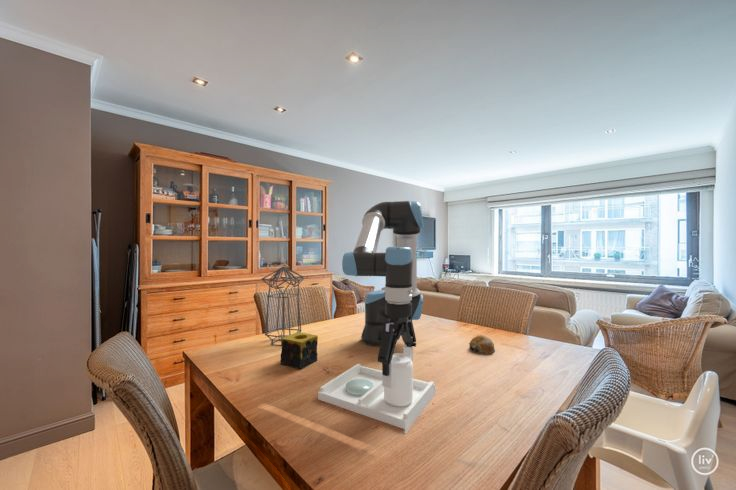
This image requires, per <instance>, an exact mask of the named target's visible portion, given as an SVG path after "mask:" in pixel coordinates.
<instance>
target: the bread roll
mask: <svg viewBox="0 0 736 490" xmlns="http://www.w3.org/2000/svg"><path fill="white" fill-rule="evenodd" d="M468 344H469V349H470V350H471V351H472V352H474V353H477V354H484V355H487V354H493V353H494V352H495V351H496V349H495V343H494V342H493V341H492V339H491V338H490V337H488V336H485V335H477V336H474V337H473V338H472V339H471V340H470V342H469V343H468Z"/></svg>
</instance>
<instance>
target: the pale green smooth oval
mask: <svg viewBox="0 0 736 490" xmlns="http://www.w3.org/2000/svg"><path fill="white" fill-rule="evenodd" d="M371 388H373V383H372V382H370V381H368V380H364V379H355V380H351V381H349V382H348V383H347V384H346V392H347V393H348V394H350V395H353V396H363V395H364V394H365V393H366V392H368V391H369V390H370V389H371Z"/></svg>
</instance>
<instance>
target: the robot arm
mask: <svg viewBox="0 0 736 490" xmlns="http://www.w3.org/2000/svg"><path fill="white" fill-rule="evenodd" d="M361 224H362V227H361V230H360V233H359V235H358V238H357V241H356V243H355V246H354V248H353V251H349V252H344V254H343V256H342V258H341V259H342V262H341V263H342V264H341V266H342V268H341V269H342V272H343V274H344V275H346V276H353V277H385V285H384V287H385V288H384V289H380V290H379V289H378V290H373V291H369V292H368V293H366V295H365V300H364V327H363V330H362V333H361V336H360V339H361V340H360V341H361V343H363V344H365V345H368V346H374V347H375V346H376V347H379V350H378V354H377V359H376V360H377V362H378V363H381V371H382V386H384V387H388V388H392V387H393V362H391V360H392V356H393V354H395V353H394V352H395V349H396V346H397V342H398V340H400V339H401V338H402V341H403V343H404V345H403V354H405V355H408V356H410V357H411V361H412V362H413V363H414V348H416V347H417V343H416V342H417V338H416V332H415V328H414V324H413V321H418V320H420V319H421V316H422V311H423V303H424V295H423V294H421V290H420V289H419V288H418V285H417V282H418V281H417V279H418V278H417V277H418V276H417V272H418V271H417V270H418V268H417V267H418V266H417V261H418V260H417V256H418V254H417V252H418V251H417V244H418V243H417V240H418V239H417V237H418V236H419V235H420V234H421V230H422V229H424V227H425V225H424V218H423V211H422V205H421V203H420V202H419V201H416V200H415V201H413V200H402V201H398V200H397V201H382V202H380V203H376V204H374V205H373V206H371V207H370V208H369V209H368V210H367V211H366V212H365V214H364V215H363V218H362V220H361ZM384 230H392V234H394V236H395V237H396V246H388V247H387V248H386V249H385V252H377V249H378V246H379V241H380V238H381V233H382V231H384Z"/></svg>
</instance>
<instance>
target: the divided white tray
mask: <svg viewBox="0 0 736 490" xmlns="http://www.w3.org/2000/svg"><path fill="white" fill-rule="evenodd" d="M355 379H364V380H368V381H370V382H372V383H373V388H371V389H370V390H369V391H368V392H366V393H365V394H364V395H363V396H353V395H350V394H348V393H347V392H346V384H347V383H348V382H349V381H351V380H355ZM435 395H436V384H435V382H434V381H432V380H430V381H429V382H428V381H424V380H420V379H417V378H413V401H412V402H411V403H410V404H408V405H405V406H394V405H391V404H389V403H387V402H386V401H385V399H384V386H382V369H381V370H380V369H377V368H371V367H368V366H364V365H361V363H356V364H355V365H353V366H352V367H349V369H347V370H345V371H344V372H343V373H340V374H339V375H338V376H336V377H334V378H332V379H330V380H329V381H328V382H326V383H325V384H323V385H322V386H320V387H319V391H318V392H317V400H319V401H323V402H324V403H327V404H331V405H333V406H336V407H338V408H342V409H344V410H348V411H352V412H354V413H356V414H359V415H362V416H366V417H368V418H371V419H375V420H377V421H380V422H383V423H384V424H385V423H386V424H388V425H391V426H395V427H398V428H401V429H403V430H404V431H403V432H402V434H403V435H406V434H407V432H409V430H410V429H411V428H412V427H413V424H414V423H415V422H416V421H417V420H418V418H419V417H420V415H422V413H423V411H424V410H425V409H426V408H427V406H428V405H429V404H430V402H432V400H433V398H434V397H435Z"/></svg>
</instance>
